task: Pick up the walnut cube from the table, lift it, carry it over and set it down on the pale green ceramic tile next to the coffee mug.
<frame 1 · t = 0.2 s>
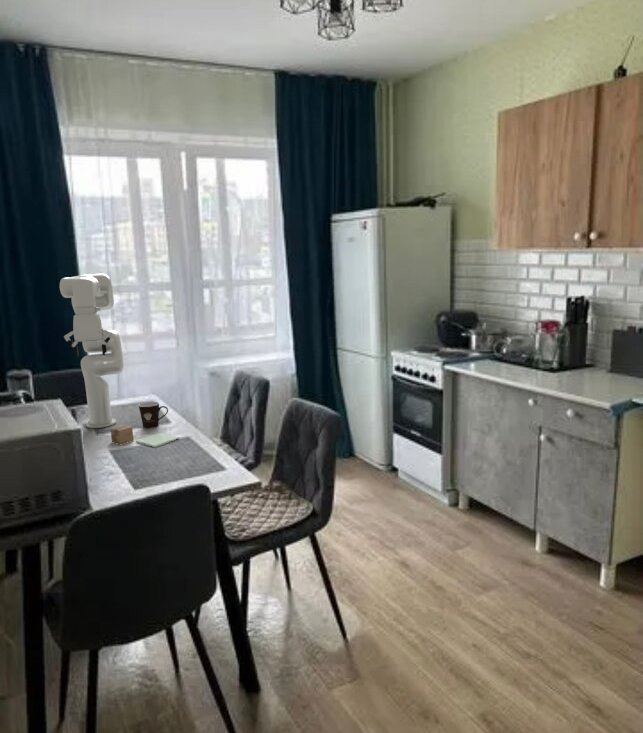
hand: (90, 355, 228), 36 cm above the table, tool pointing down, fingers open, 9 cm apart
coffee mug: (153, 427, 259), on the table
walnut cube: (122, 441, 240), on the table
green tile: (157, 440, 239), on the table
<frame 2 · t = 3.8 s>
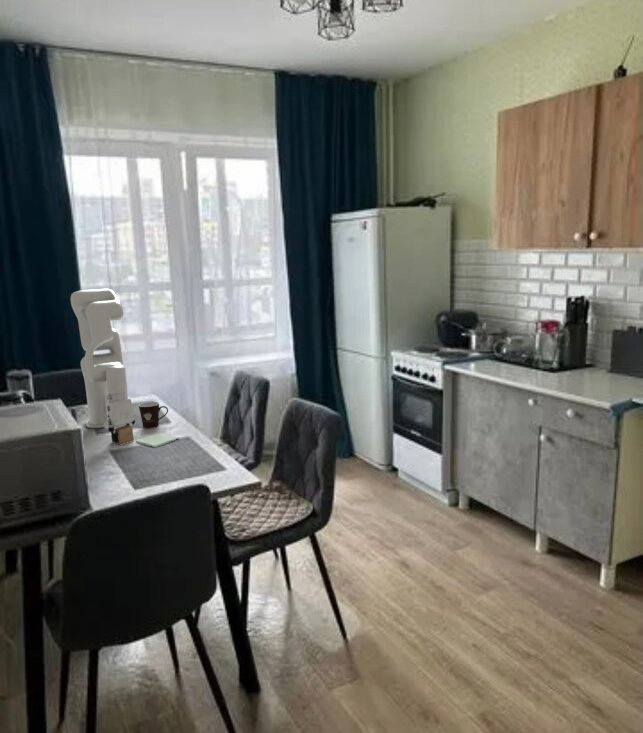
hand: (122, 439, 239), 1 cm above the table, tool pointing down, fingers closed on walnut cube, 6 cm apart
walnut cube: (122, 441, 240), on the table, touching gripper
everything else where it was.
when the fingers open (3 cm above the table, at t = 9.2 s): walnut cube stays where it is, resting on green tile.
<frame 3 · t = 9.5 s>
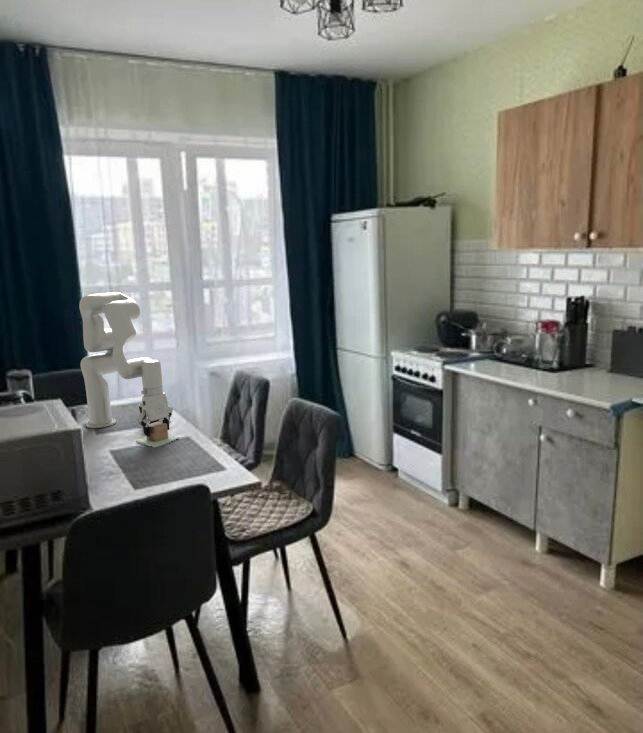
hand: (157, 432, 238), 3 cm above the table, tool pointing down, fingers open, 9 cm apart
walnut cube: (157, 438, 239), point 1 cm above the table, touching green tile
everything else where it was.
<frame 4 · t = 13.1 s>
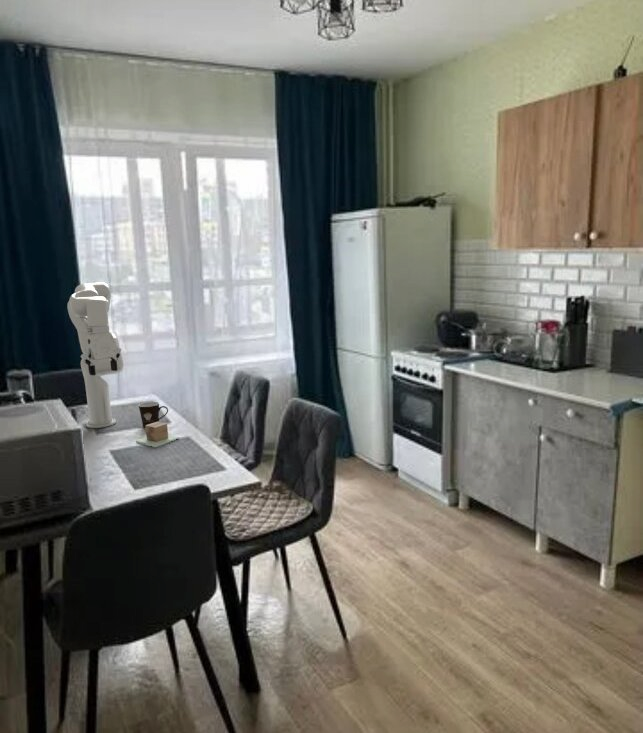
hand: (103, 372, 235), 28 cm above the table, tool pointing down, fingers open, 9 cm apart
nothing on the table moved.
at the end: walnut cube inside the target area on the green tile (0.1 cm from its centre), point 0.8 cm above the green tile's base; walnut cube tilted 0°; the gripper is holding nothing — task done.
